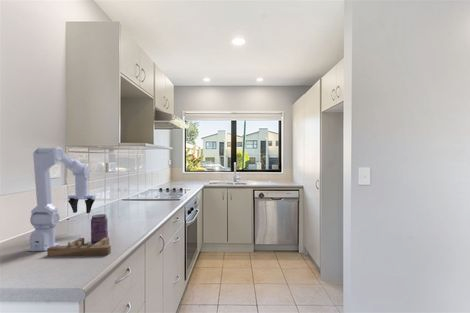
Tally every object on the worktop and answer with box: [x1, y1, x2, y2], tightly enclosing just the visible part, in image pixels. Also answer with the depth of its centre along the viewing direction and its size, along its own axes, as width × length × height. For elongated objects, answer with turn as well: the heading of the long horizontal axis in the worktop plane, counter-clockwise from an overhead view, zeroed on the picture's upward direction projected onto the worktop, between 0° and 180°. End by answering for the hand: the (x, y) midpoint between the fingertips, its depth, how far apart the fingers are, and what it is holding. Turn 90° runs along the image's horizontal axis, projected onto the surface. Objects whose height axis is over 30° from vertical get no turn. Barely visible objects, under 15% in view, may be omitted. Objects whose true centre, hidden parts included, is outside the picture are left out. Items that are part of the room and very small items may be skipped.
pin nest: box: [46, 237, 112, 257], centre depth 124 cm, size 14×24×5 cm, turn 91°
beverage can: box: [90, 214, 109, 244], centre depth 136 cm, size 7×7×12 cm
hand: (81, 212), depth 154 cm, fingers open, 7 cm apart
